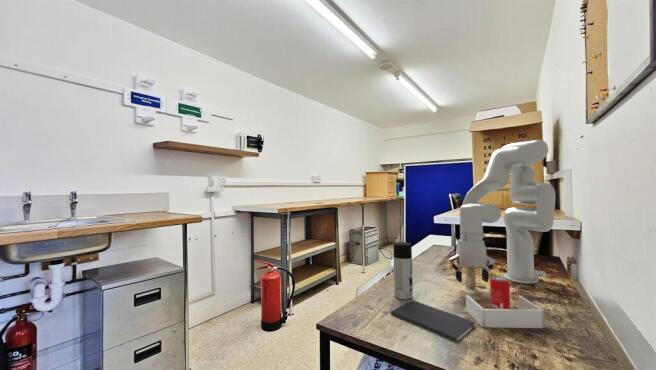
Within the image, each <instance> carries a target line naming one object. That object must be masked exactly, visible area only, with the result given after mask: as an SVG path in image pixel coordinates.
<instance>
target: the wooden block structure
mask: <svg viewBox="0 0 656 370" xmlns="http://www.w3.org/2000/svg"><path fill="white" fill-rule="evenodd" d="M465 276H466V277H465V279H466V281H465V283H466V284H465V290H460V298H461V299H462V300H463V301H464V300H465V301H466V295H469V296H470V297H471V298H472V299H473V300H474V301H476V300H477V301H478V300H479V301H483V300H484V301H486V300H487V301H491V300H490V290H480V289H477V288H476V282H477V281H476V267H465Z"/></svg>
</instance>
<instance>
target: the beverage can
mask: <svg viewBox="0 0 656 370" xmlns="http://www.w3.org/2000/svg"><path fill="white" fill-rule="evenodd" d="M489 287H490V288H489V289H490V290H489V291H490V300H489V301H490V309H511V301H510V300H511V296H510V294H511V291H510V287H511V286H510V280H508V278H505V277H504V276H501V275H491V276H490V278H489Z"/></svg>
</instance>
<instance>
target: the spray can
mask: <svg viewBox="0 0 656 370" xmlns="http://www.w3.org/2000/svg"><path fill="white" fill-rule="evenodd" d="M412 250H413V249H412V243H411V242H407V241H405V242H404V241H396V242H394V243H393V281H394V283H393V284H394V286H393V287H394V296H395V297H396V298H397V299H399V300H406V301H407V300H411V299H413V293H414V291H413V254H412V253H413V252H412Z"/></svg>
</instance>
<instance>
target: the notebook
mask: <svg viewBox="0 0 656 370" xmlns="http://www.w3.org/2000/svg"><path fill="white" fill-rule="evenodd" d="M390 314H391V316H394V317H396V318H399V319H401V320H404V321H406V322H409V323H410V324H413V325H415V326H418V327H420V328H422V329H425V330H427V331H429V332H432V333H434V334H437V335H439V336H441V337H444V338H446V339H449V340H451V341H453V342H456V343H458V341H459V340H460V339H462V338H463V337H464V336H466V335H467V334H468V332H470V331H471V330H473V329H474V327H475V325H476V322H475V321H473V320H470V319H468V318H466V317H462V316H459V315H456V314H453V313H450V312H447V311H444V310H441V309H439V308H436V307H434V306H430V305H428V304H426V303H425V304H424V303H422V302H419V301H416V300H410V301H408V302H407V303H404V304H402V305H401V306H399V307H397V308H395V309H393V310H390Z"/></svg>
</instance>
